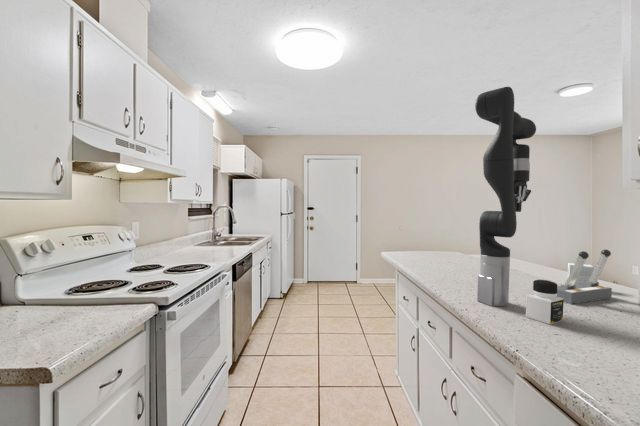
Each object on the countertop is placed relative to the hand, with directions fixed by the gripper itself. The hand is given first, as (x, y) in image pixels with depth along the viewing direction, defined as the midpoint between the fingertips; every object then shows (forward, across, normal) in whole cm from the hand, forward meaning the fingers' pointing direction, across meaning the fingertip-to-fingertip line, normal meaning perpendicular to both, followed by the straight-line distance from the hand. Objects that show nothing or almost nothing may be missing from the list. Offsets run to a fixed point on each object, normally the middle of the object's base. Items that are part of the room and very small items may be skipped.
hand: (517, 211), depth 127 cm
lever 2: (+28, +21, -16) cm, 38 cm away
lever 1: (+28, +7, -16) cm, 33 cm away
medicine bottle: (+33, -23, -27) cm, 49 cm away
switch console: (+33, +14, -16) cm, 39 cm away
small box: (+33, +30, -7) cm, 45 cm away
